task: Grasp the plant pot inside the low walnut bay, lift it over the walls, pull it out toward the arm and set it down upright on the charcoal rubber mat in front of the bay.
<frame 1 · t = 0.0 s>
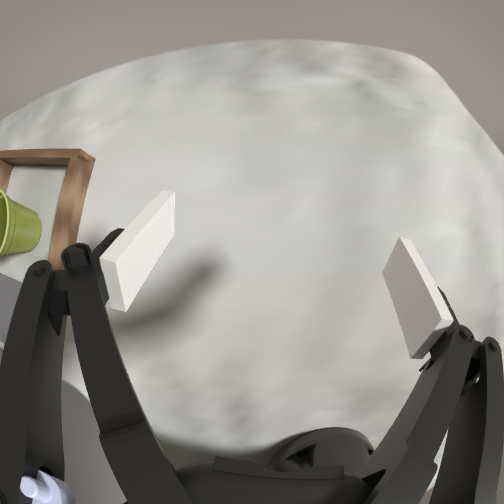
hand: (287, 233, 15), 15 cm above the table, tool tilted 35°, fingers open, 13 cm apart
charcoal mat: (22, 321, 31), on the table
plant pot: (30, 230, 31), on the table
walnut bay: (30, 223, 31), on the table
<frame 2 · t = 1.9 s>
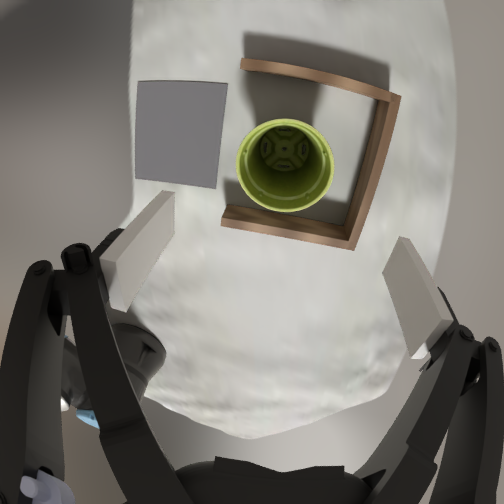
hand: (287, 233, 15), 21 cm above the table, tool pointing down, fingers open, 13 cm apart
charcoal mat: (175, 133, 33), on the table
plant pot: (285, 147, 33), on the table
walnut bay: (293, 149, 33), on the table
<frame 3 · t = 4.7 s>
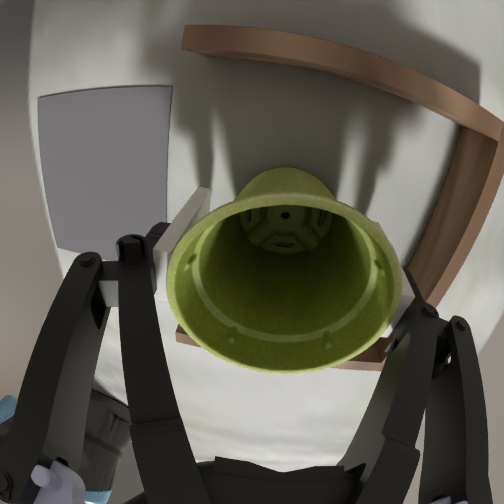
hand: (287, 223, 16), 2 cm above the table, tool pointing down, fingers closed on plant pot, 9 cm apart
charcoal mat: (95, 183, 18), on the table
plant pot: (287, 210, 18), on the table, touching gripper
walnut bay: (302, 215, 18), on the table
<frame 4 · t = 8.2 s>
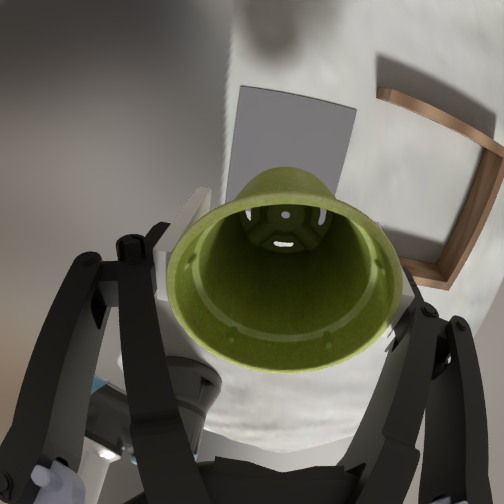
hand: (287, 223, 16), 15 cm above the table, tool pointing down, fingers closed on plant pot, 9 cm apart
charcoal mat: (287, 158, 29), on the table
plant pot: (287, 210, 18), point 13 cm above the table, touching gripper
walnut bay: (410, 190, 28), on the table
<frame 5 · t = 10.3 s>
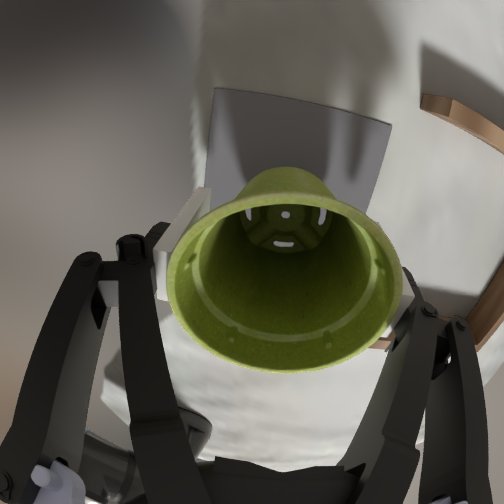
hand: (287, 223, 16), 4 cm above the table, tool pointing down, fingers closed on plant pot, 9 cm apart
charcoal mat: (286, 197, 20), on the table
plant pot: (287, 210, 18), point 2 cm above the table, touching gripper
walnut bay: (451, 238, 20), on the table
when the fingers open (2 cm above the table, at t = 11.9 s): plant pot stays where it is, resting on charcoal mat.
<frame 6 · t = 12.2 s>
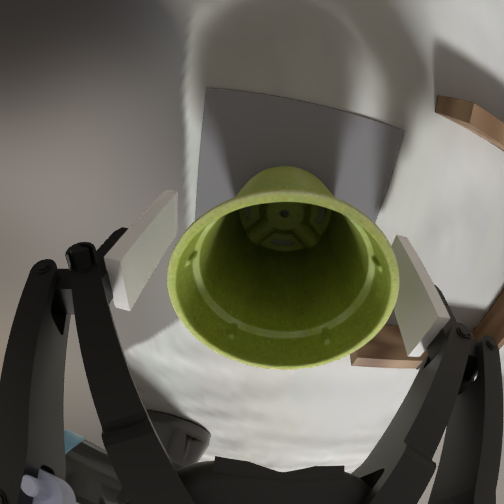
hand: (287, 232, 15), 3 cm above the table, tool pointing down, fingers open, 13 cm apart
charcoal mat: (287, 209, 18), on the table
plant pot: (286, 208, 18), resting on charcoal mat
walnut bay: (463, 252, 18), on the table
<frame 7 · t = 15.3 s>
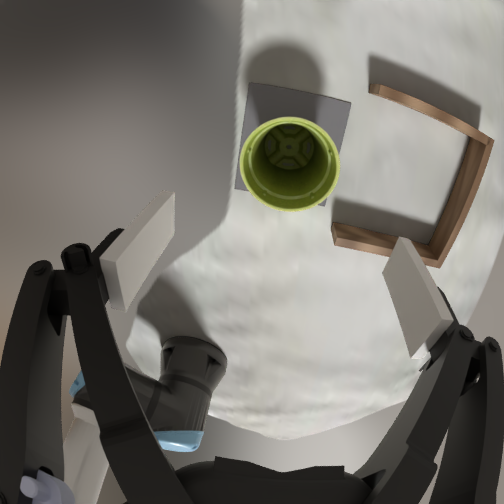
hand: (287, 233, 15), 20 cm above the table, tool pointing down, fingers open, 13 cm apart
charcoal mat: (290, 145, 32), on the table
plant pot: (289, 145, 32), resting on charcoal mat
walnut bay: (401, 175, 32), on the table
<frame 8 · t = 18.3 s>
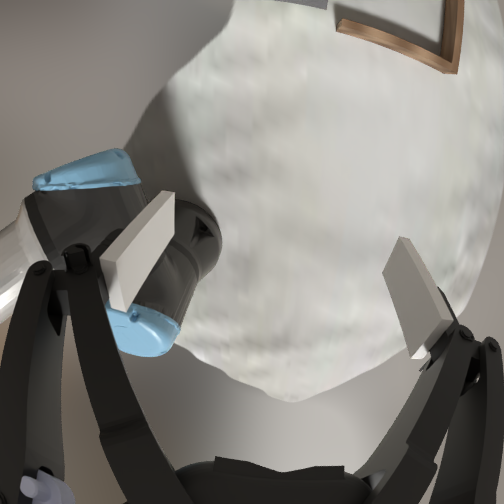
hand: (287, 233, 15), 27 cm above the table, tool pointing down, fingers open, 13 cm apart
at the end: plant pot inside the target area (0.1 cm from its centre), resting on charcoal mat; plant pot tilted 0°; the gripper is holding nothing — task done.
